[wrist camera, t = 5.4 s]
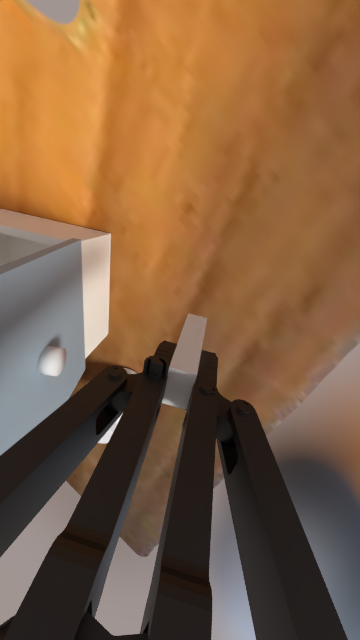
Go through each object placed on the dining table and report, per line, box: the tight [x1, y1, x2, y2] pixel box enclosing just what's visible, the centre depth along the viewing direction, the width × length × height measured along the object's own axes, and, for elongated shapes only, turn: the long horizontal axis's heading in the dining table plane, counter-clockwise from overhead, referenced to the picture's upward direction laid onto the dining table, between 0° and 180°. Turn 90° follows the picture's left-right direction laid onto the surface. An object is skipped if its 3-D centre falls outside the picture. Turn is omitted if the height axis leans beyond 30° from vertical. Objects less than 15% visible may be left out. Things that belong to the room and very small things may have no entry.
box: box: [0, 209, 111, 359], centre depth 30 cm, size 16×16×8 cm
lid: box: [0, 238, 85, 455], centre depth 19 cm, size 16×17×2 cm
